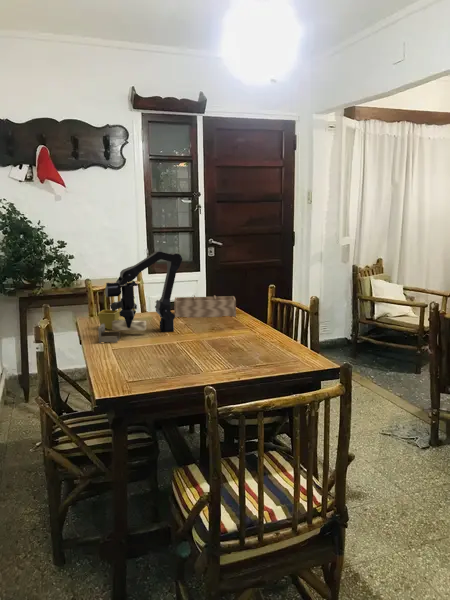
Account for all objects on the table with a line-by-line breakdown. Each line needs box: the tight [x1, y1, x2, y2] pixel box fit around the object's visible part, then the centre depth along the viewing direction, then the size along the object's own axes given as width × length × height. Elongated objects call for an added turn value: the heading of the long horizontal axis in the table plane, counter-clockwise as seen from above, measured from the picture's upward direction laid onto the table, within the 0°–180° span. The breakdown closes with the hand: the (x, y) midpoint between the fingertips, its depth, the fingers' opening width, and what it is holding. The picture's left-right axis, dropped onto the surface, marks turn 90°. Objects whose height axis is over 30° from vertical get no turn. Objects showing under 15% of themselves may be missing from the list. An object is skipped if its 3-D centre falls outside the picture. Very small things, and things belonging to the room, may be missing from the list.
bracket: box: [97, 324, 121, 344], centre depth 229 cm, size 8×10×7 cm
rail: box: [112, 319, 147, 331], centre depth 239 cm, size 16×4×4 cm, turn 85°
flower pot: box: [97, 309, 121, 330], centre depth 252 cm, size 9×9×9 cm
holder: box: [173, 294, 237, 318], centre depth 284 cm, size 35×13×10 cm, turn 94°
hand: (129, 326), depth 239 cm, fingers closed on rail, 4 cm apart
